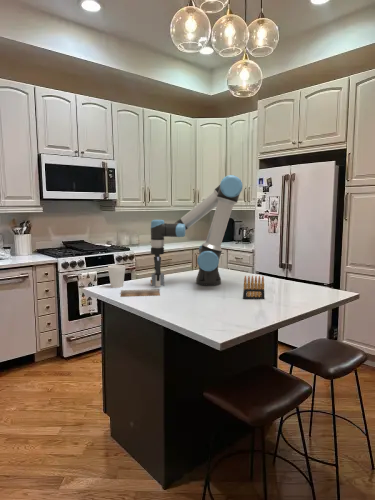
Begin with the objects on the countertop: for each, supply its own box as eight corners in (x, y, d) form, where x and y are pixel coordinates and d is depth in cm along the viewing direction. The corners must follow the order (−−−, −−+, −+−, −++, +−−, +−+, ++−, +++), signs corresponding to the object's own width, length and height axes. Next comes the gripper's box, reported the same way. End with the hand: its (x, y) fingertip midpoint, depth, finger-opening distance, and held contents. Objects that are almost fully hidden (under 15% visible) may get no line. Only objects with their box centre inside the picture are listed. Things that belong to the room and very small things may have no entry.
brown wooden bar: (159, 291, 189) (159, 289, 188) (159, 292, 186) (159, 290, 186) (121, 293, 186) (121, 290, 186) (120, 294, 184) (120, 291, 183)
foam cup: (113, 291, 195) (112, 268, 193) (105, 288, 202) (105, 266, 200) (128, 289, 201) (128, 266, 199) (120, 286, 208) (120, 264, 206)
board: (158, 292, 194) (158, 289, 194) (160, 298, 181) (160, 295, 181) (121, 293, 191) (121, 290, 191) (120, 299, 179) (120, 296, 178)
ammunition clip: (263, 298, 182) (264, 275, 180) (264, 299, 180) (265, 275, 178) (242, 298, 182) (243, 275, 180) (243, 299, 180) (243, 275, 179)
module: (163, 286, 208) (163, 272, 207) (164, 288, 203) (164, 274, 202) (150, 286, 207) (150, 273, 206) (150, 288, 202) (150, 274, 201)
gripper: (150, 244, 214) (150, 279, 217) (151, 249, 189) (151, 288, 192) (162, 244, 215) (162, 278, 218) (165, 249, 190) (165, 288, 193)
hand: (157, 283), depth 205 cm, fingers open, 13 cm apart
